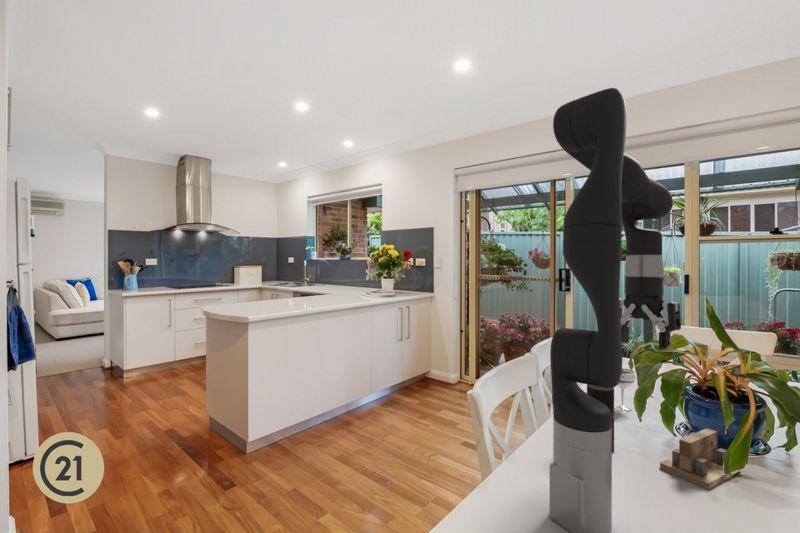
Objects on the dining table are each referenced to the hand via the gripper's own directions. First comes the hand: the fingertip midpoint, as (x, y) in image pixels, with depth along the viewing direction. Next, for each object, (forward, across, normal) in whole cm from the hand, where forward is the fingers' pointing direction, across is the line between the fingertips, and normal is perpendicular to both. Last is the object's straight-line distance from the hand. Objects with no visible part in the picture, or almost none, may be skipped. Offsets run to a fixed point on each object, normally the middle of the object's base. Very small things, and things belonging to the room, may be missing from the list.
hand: (643, 345), depth 85 cm
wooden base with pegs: (+26, +8, +8) cm, 29 cm away
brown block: (+25, +8, +8) cm, 27 cm away
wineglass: (+26, -22, +28) cm, 44 cm away
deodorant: (+27, -9, -3) cm, 28 cm away
